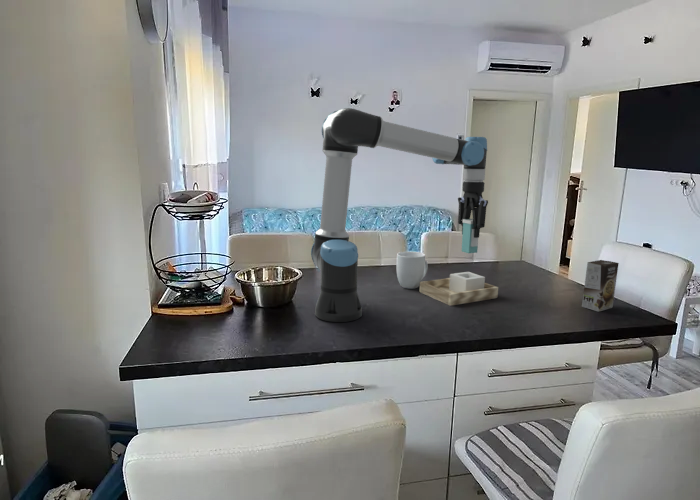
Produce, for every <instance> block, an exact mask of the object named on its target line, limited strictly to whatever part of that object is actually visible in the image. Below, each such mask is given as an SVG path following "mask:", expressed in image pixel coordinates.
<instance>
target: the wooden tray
mask: <svg viewBox="0 0 700 500" xmlns="http://www.w3.org/2000/svg"><path fill="white" fill-rule="evenodd" d="M449 283H450V277H446V278H439V279H429V280H422V281H421V282H420V285H419V293H421V294H422V295H426V296H427V297H430V298H432V299H434V300H436V301H439V302H441V303H443V304H445V305H447V306H450V307H451V306H456V305H462V304H469V303H474V302H480V301H486V300H491V299H497V298H499V297H498V295H499V286H496V285H494V284H490V283H487V282H485V284H484V289H477V290H471V291H464V292H458V293H457V292H455V291H452V290H450V289H449Z"/></svg>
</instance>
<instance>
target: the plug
mask: <svg viewBox="0 0 700 500" xmlns="http://www.w3.org/2000/svg"><path fill="white" fill-rule="evenodd" d="M462 223H463V235H462V234H461V236H462V238H461V239H462V240H461V252H462V253H466V254H475V253H476V254H477V253H478V250H479V249H478V248H479V247H478V246H479V245H478V246H474V247H471V232H472V228H473V218H470V219H463V222H462Z"/></svg>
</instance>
